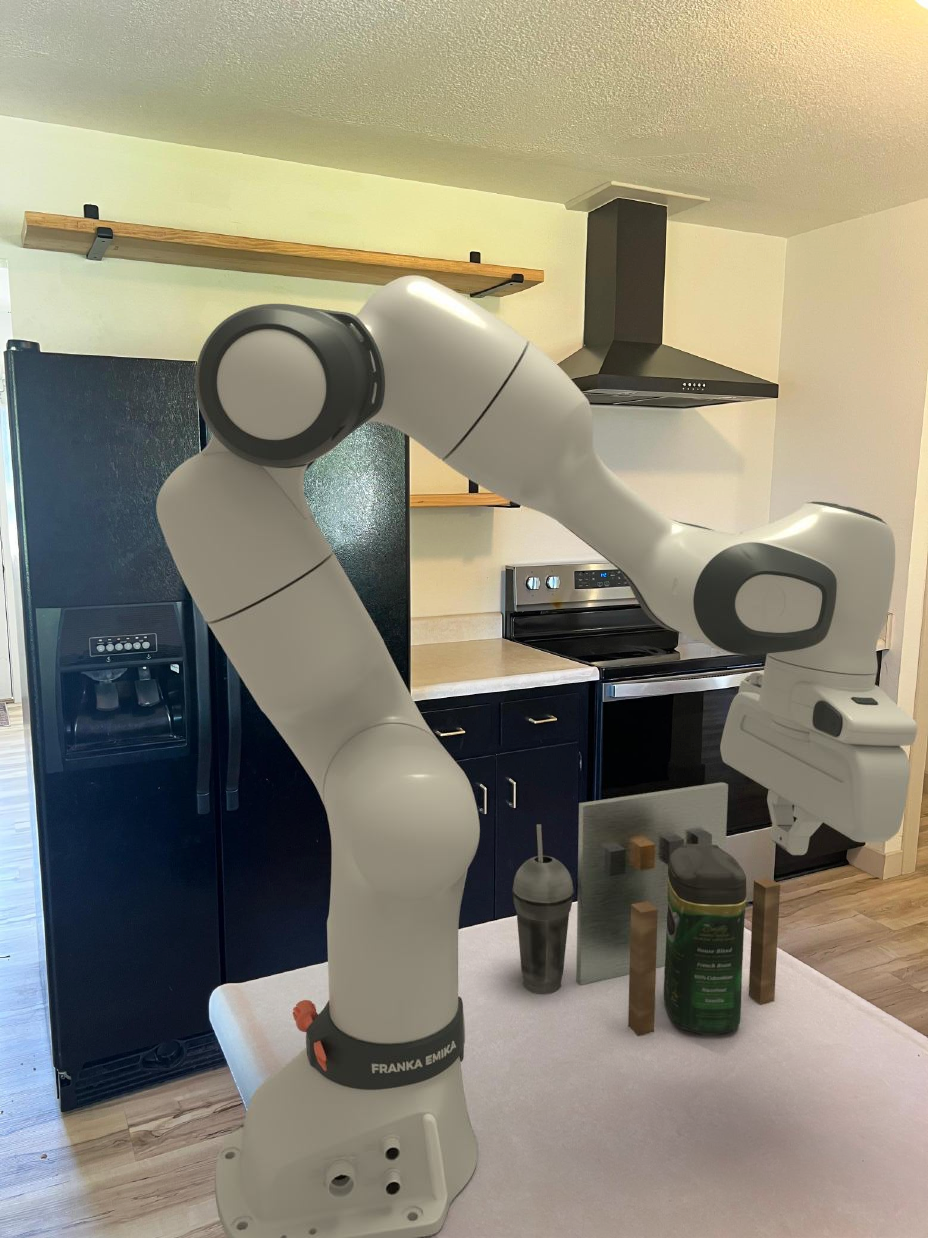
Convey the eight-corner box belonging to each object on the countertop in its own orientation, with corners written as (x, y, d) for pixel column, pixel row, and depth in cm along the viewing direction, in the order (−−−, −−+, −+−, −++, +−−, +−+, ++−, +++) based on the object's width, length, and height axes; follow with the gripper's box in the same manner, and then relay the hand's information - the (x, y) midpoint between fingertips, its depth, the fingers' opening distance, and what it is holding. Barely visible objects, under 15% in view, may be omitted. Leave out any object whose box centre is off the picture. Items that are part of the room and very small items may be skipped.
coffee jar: (749, 1040, 95) (756, 874, 92) (673, 1038, 95) (679, 873, 93) (726, 989, 104) (732, 837, 102) (657, 988, 105) (662, 836, 102)
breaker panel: (585, 990, 104) (588, 809, 101) (576, 981, 106) (579, 803, 103) (727, 957, 111) (734, 787, 108) (716, 949, 113) (723, 782, 110)
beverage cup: (583, 978, 107) (586, 818, 104) (556, 1008, 101) (558, 838, 98) (529, 961, 111) (530, 806, 108) (500, 988, 105) (500, 825, 102)
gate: (638, 1036, 96) (641, 912, 94) (628, 1025, 97) (631, 904, 95) (774, 1001, 102) (780, 884, 100) (762, 992, 104) (768, 877, 102)
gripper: (716, 666, 85) (694, 803, 88) (867, 729, 66) (834, 904, 68) (773, 669, 87) (750, 803, 89) (935, 732, 68) (901, 902, 70)
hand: (787, 848), depth 79 cm, fingers closed
